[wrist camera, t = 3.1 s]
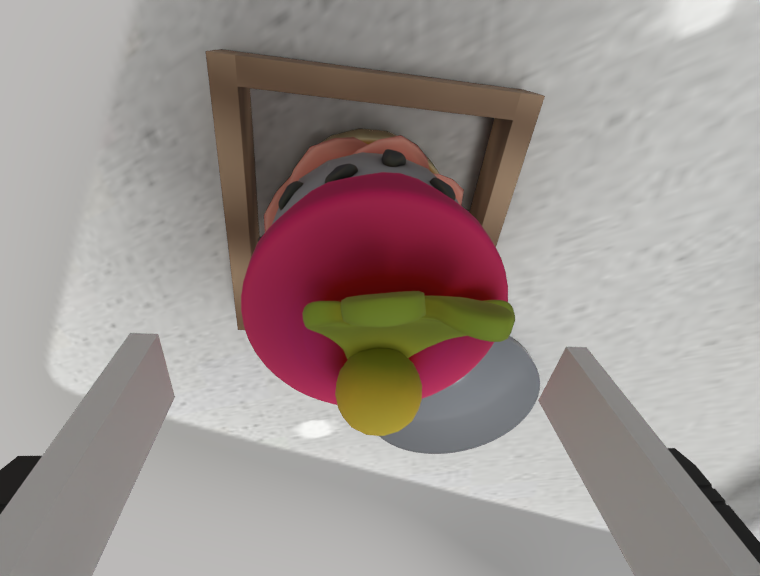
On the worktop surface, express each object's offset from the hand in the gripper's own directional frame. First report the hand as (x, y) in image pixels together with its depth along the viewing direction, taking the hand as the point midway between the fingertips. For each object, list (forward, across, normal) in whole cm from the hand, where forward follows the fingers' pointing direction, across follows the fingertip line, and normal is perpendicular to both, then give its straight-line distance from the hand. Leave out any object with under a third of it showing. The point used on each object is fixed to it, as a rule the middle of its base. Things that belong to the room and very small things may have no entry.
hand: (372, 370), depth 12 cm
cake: (+13, 0, 0) cm, 13 cm away
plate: (+13, +10, -16) cm, 22 cm away
